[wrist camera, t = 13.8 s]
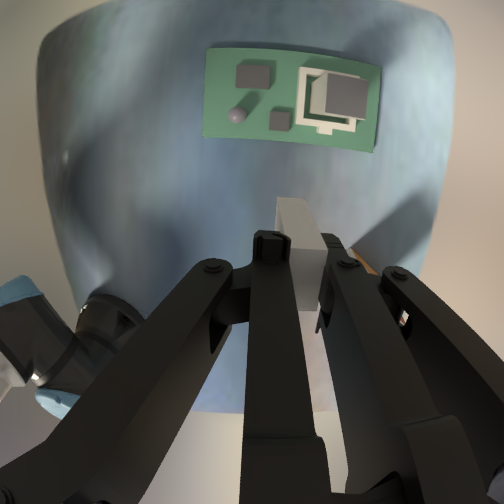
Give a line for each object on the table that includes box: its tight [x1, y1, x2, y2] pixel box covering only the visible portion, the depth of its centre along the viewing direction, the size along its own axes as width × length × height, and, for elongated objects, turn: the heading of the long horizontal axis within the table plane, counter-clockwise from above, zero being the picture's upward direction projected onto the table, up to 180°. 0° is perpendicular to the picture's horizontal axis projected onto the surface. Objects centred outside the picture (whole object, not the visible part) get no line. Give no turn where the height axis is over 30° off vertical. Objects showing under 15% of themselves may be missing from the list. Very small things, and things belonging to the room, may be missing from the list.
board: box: [202, 48, 381, 153], centre depth 31 cm, size 22×12×4 cm, turn 87°
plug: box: [309, 72, 369, 120], centre depth 27 cm, size 4×4×10 cm
